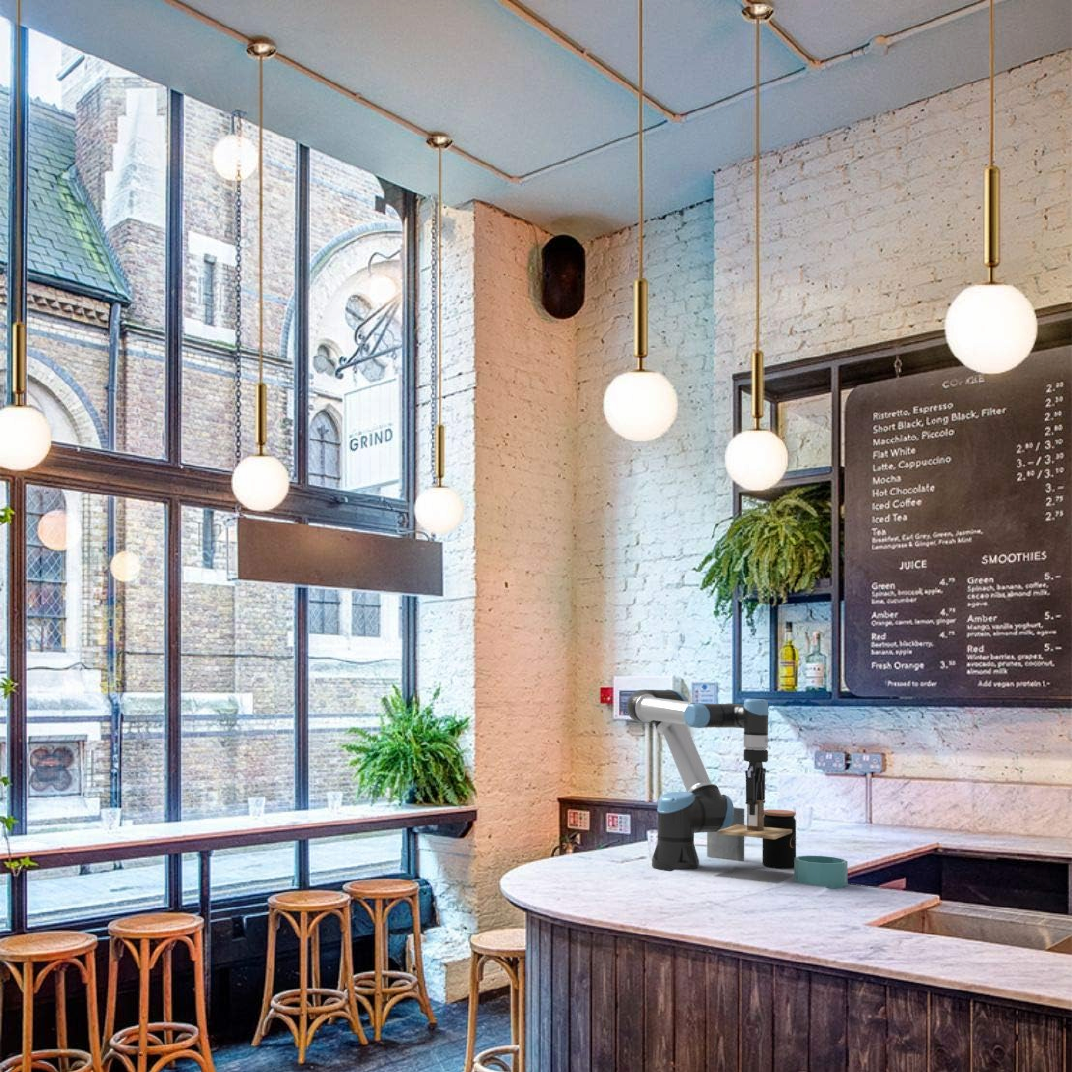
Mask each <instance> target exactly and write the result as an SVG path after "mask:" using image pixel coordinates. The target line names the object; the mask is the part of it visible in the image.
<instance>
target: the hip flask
mask: <svg viewBox="0 0 1072 1072" xmlns="http://www.w3.org/2000/svg"><path fill="white" fill-rule="evenodd" d="M736 824H740V825H745V808H743V807H736V806H735V807H734V816H733V821H732V823H731V825H730V826H733V825H736ZM730 826H729V827H730ZM706 847H707V848H706V857H707V858H711V859H719V860H728V861H729V860H731V861H738V862H745V836H735V835H725V834H718V832H706Z"/></svg>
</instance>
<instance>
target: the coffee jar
mask: <svg viewBox="0 0 1072 1072" xmlns="http://www.w3.org/2000/svg"><path fill="white" fill-rule="evenodd" d="M796 815H797V813H796V811H793V810H786V809H764V827H771V828H782V829H792V833H790V834H788V835H785V836H782V837H780V838H777V839H765V838H762V865H763V867H765V868H769V869H779V870H786V869H787V870H791V869H794V858H796V857H797V819H796V818H795V816H796Z"/></svg>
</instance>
